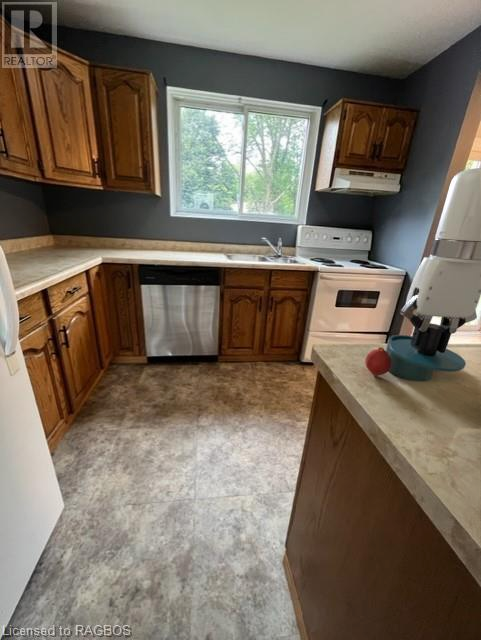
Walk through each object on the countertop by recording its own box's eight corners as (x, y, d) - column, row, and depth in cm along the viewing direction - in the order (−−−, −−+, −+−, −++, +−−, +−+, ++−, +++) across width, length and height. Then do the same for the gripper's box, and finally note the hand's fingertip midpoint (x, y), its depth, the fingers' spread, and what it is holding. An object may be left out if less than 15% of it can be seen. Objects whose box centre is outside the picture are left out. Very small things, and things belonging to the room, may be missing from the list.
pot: (415, 360, 77) (423, 336, 74) (442, 382, 66) (452, 355, 64) (375, 357, 77) (381, 333, 75) (395, 380, 66) (403, 352, 64)
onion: (367, 367, 72) (374, 339, 69) (391, 375, 68) (398, 347, 65) (358, 374, 68) (365, 345, 65) (382, 384, 64) (390, 354, 62)
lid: (435, 346, 59) (445, 317, 56) (481, 377, 47) (495, 342, 45) (378, 342, 59) (385, 313, 57) (409, 372, 47) (420, 337, 45)
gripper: (488, 252, 49) (455, 343, 56) (397, 247, 50) (375, 338, 56) (528, 257, 42) (485, 361, 49) (422, 251, 43) (393, 355, 49)
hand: (427, 348), depth 52 cm, fingers closed on lid, 3 cm apart
